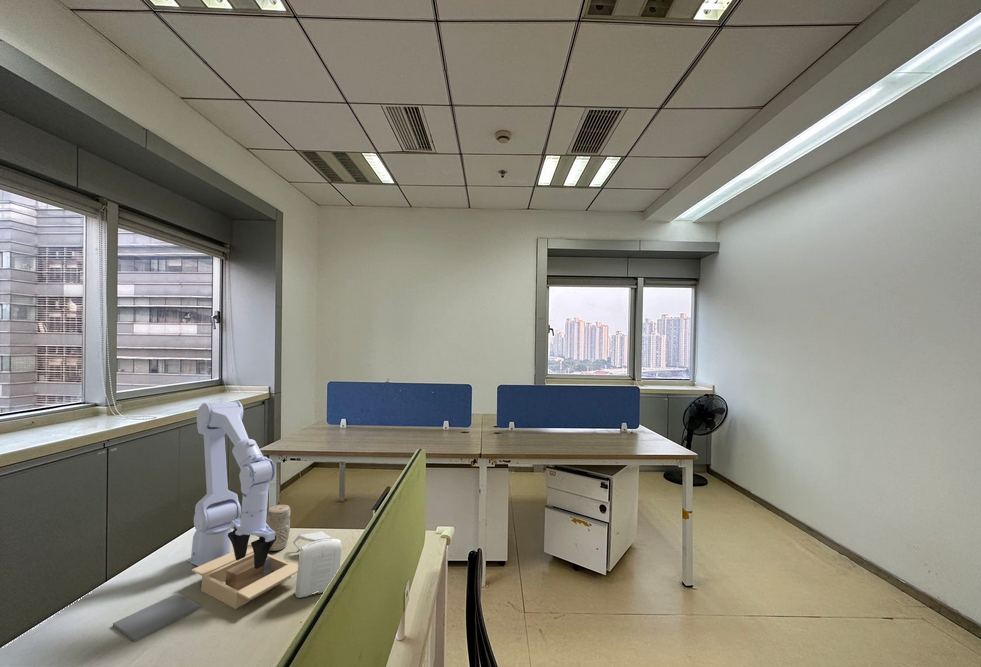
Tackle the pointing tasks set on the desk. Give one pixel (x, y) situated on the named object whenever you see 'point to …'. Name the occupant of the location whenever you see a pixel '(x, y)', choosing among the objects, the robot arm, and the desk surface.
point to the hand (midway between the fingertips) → (249, 562)
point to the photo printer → (317, 566)
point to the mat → (155, 616)
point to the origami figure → (312, 537)
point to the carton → (214, 587)
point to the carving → (279, 525)
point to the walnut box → (246, 573)
